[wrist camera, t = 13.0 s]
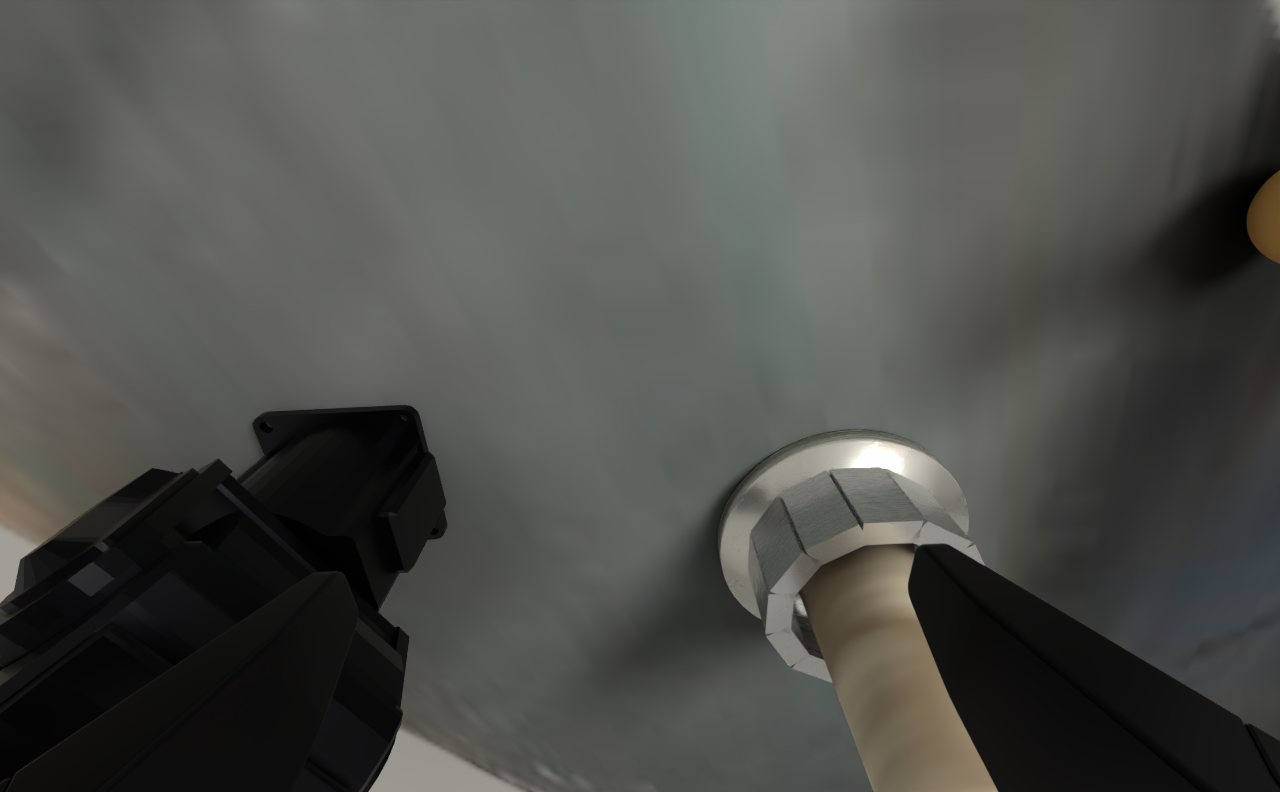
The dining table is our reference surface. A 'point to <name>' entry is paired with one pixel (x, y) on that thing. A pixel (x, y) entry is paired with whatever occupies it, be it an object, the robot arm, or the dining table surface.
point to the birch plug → (889, 675)
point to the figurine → (1266, 219)
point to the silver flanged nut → (830, 523)
